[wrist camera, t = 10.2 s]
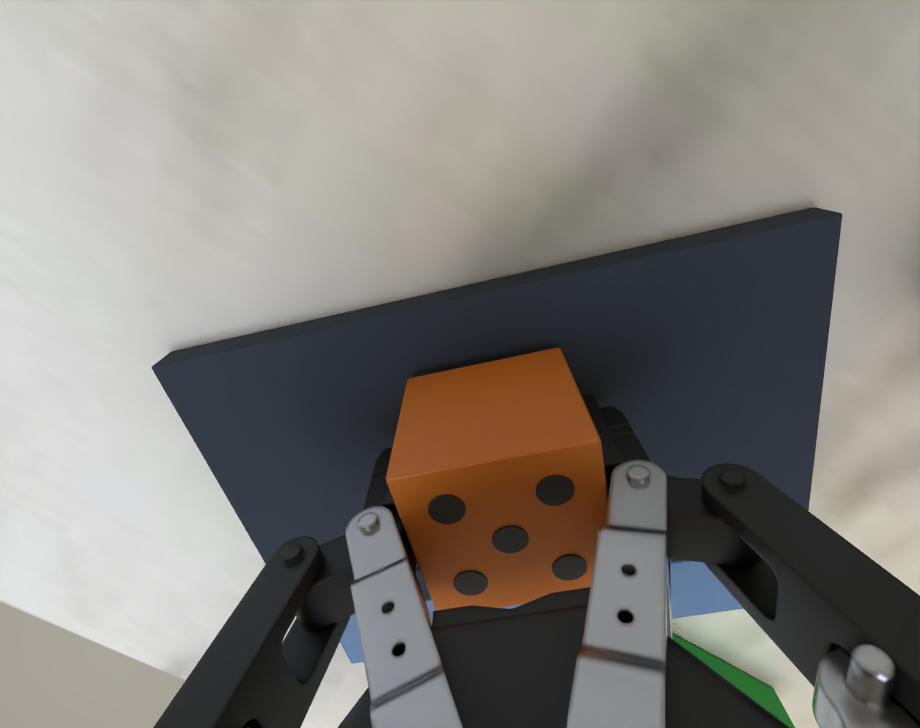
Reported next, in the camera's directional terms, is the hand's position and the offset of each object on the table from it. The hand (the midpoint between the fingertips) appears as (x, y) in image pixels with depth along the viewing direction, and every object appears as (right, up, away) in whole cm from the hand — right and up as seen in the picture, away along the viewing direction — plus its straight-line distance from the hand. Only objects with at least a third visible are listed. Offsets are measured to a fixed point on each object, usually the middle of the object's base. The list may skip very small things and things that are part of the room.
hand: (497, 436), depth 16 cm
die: (0, 0, +1) cm, 1 cm away
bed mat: (+1, -1, +3) cm, 4 cm away
